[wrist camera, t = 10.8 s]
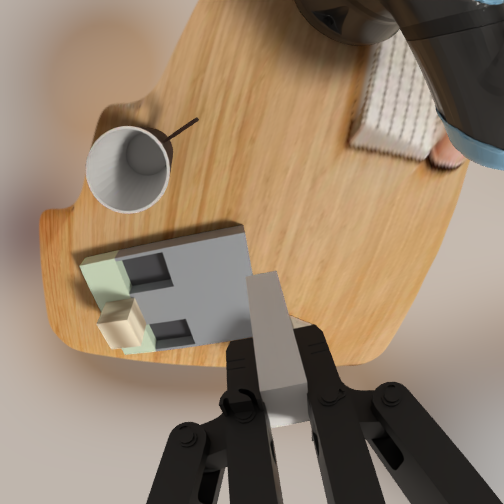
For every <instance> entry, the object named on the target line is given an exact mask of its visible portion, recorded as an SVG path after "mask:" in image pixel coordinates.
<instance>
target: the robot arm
mask: <svg viewBox="0 0 504 504" xmlns="http://www.w3.org/2000/svg"><path fill="white" fill-rule="evenodd" d="M295 2H296V4H297V6H298V8H299V10H300V12H301V13H302V15H303V16H304V17H305V18H306V20H307V21H308V22H309V23H310V24H311V25H312V26H313V27H315V28H316V29H317V30H318V31H320V32H321V33H323V34H324V35H326V36H328V37H329V38H331V39H334V40H336V41H338V42H341V43H345V44H349V45H355V46H366V45H372V44H376V43H379V42H383V41H385V40H387V39H389V38H391V37H392V36H393V35H395V34H396V33H397V32H398V30H399V29H400V30H401V31H402V33H403V35H404V37H405V39H406V41H407V43H408V45H409V47H410V49H411V51H412V52H413V54H414V56H415V58H416V60H417V62H418V65H419V67H420V69H421V71H422V73H423V76H424V78H425V80H426V83H427V85H428V87H429V90H430V92H431V95H432V97H433V100H434V102H435V106H436V111H437V114H438V116H439V117H440V119H441V120H442V121H443V124H444V126H445V129H446V132H447V134H448V137H449V139H450V141H451V143H452V144H453V146H454V147H455V148H456V149H457V150H458V151H460V152H461V154H463V156H465V157H466V158H468V159H469V160H471V161H473V162H475V163H477V164H480V165H482V166H485V167H489V168H493V169H498V170H504V0H295ZM246 286H247V294H248V302H249V310H250V318H251V326H252V334H253V337H252V338H247V339H241V340H235V341H230V344H229V346H228V348H227V350H226V362H227V363H226V367H227V391H226V392H224V394H223V395H222V397H221V398H220V402H219V406H220V408H221V410H222V412H223V413H222V414H221V415H220V416H219V417H218V418H216V419H214V420H212V421H209V422H207V423H204V424H202V425H199V424H197V423H194V422H184V423H182V424H179V425H177V426H176V427H175V428H174V429H173V430H172V432H171V433H170V435H169V438H168V441H167V444H166V447H165V450H164V452H163V456H162V458H161V461H160V464H159V467H158V470H157V473H156V476H155V479H154V482H153V485H152V488H151V491H150V494H149V497H148V500H147V503H146V504H217V501H218V497H219V492H220V488H221V484H222V479H223V474H224V471H225V467H228V481H229V494H230V504H283V498H282V492H281V486H280V480H279V473H278V467H277V461H276V454H275V447H274V441H273V438H272V434H271V428H274V427H280V426H285V425H290V424H295V423H300V422H305V421H310V424H311V428H312V441H314V445H315V450H316V454H317V458H318V463H319V467H320V472H321V476H322V480H323V485H324V489H325V494H326V498H327V503H328V504H385V501H384V497H383V494H382V491H381V488H380V485H379V481H378V478H377V475H376V471H375V468H374V465H373V462H372V459H371V456H370V453H369V450H368V447H367V444H366V441H365V439H366V440H367V441H368V443H369V444H370V446H371V447H372V449H373V450H374V451H375V453H376V454H377V456H378V457H379V459H380V460H381V461H382V463H383V464H384V466H385V467H386V469H387V470H388V472H389V473H390V474H391V476H392V477H393V479H394V480H395V482H396V483H397V484H398V486H399V487H400V489H401V490H402V492H403V493H404V495H405V496H406V497H407V499H408V500H409V502H410V503H411V504H503V503H502V502H501V501H500V499H499V498H498V497H497V496H496V494H495V493H494V492H493V491H492V489H491V488H490V487H489V486H488V484H487V483H486V482H485V481H484V479H483V478H482V477H481V476H480V475H479V473H478V472H477V471H476V470H475V468H474V467H473V466H472V465H471V463H470V462H469V461H468V460H467V459H466V457H465V456H464V455H463V454H462V453H461V451H460V450H459V449H458V448H457V447H456V445H455V444H454V443H453V442H452V441H451V440H450V438H449V437H448V436H447V435H446V433H445V432H444V431H443V430H442V429H441V427H440V426H439V425H438V424H437V423H436V422H435V420H434V419H433V418H432V417H431V416H430V415H429V413H428V412H427V411H426V410H425V409H424V408H423V407H422V405H421V404H420V403H419V402H418V401H417V399H416V398H415V397H414V396H413V395H412V394H411V392H409V390H408V389H407V388H406V387H405V386H403V385H402V384H400V383H397V382H386V383H384V384H381V385H380V386H379V387H377V388H376V390H368V391H360V390H354V389H351V388H349V387H347V386H346V385H344V383H343V382H342V381H341V379H340V377H339V375H338V372H337V369H336V366H335V364H334V361H333V358H332V355H331V353H330V351H329V347H328V345H327V343H326V339H325V337H324V334H323V331H321V330H320V329H319V328H318V327H317V326H316V325H315V324H313V325H309V326H304V327H300V328H295V329H293V328H292V324H291V321H290V317H289V314H288V310H287V306H286V303H285V299H284V296H283V292H282V289H281V285H280V282H279V278H278V275H277V271H272V272H267V273H262V274H257V275H252V276H247V277H246ZM309 419H310V420H309Z"/></svg>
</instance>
